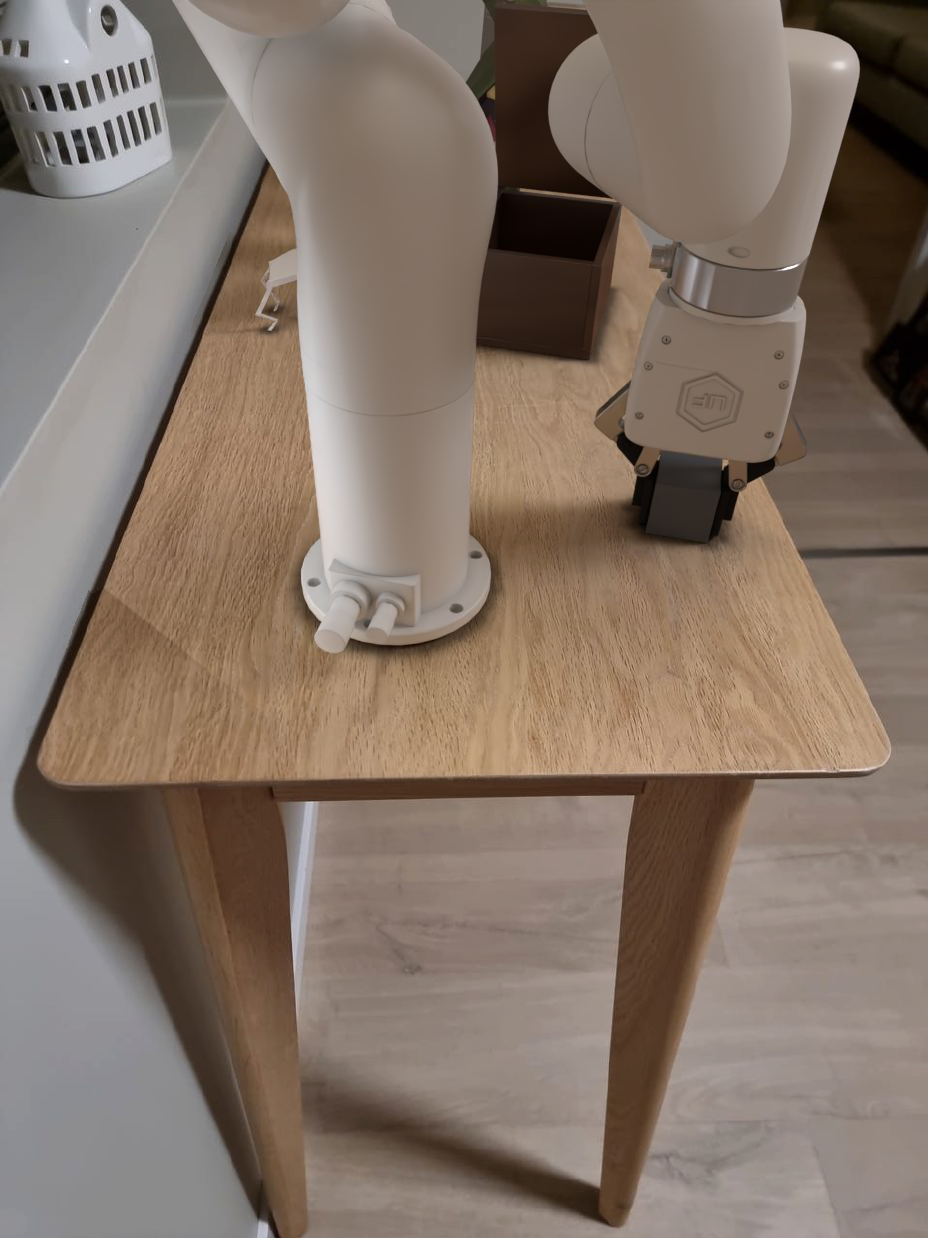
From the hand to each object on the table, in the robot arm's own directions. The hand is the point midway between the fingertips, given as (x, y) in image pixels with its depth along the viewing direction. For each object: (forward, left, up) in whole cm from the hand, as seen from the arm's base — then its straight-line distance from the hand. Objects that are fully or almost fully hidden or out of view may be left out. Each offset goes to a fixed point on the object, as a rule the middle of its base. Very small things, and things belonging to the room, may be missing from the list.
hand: (679, 516), depth 68 cm
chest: (+30, +16, 0) cm, 34 cm away
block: (0, 0, 0) cm, 0 cm away
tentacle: (+51, +26, -1) cm, 57 cm away
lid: (+35, +16, +17) cm, 42 cm away
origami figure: (+25, +38, -1) cm, 46 cm away
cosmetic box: (+86, +30, -1) cm, 91 cm away
